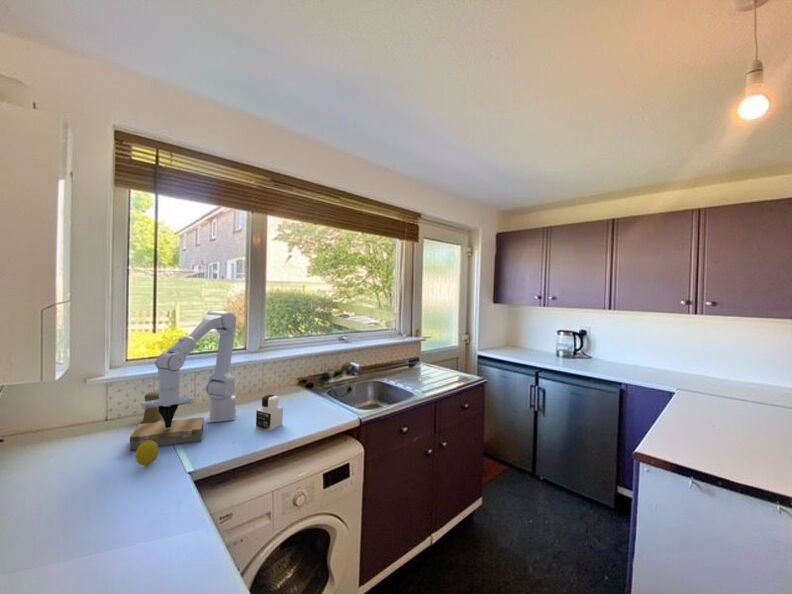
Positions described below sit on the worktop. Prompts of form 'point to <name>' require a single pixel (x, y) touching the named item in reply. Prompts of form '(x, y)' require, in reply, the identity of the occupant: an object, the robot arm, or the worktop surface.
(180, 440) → the cable duct
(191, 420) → the tan flat wooden board
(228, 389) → the robot arm
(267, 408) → the medicine bottle
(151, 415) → the cork
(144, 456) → the lemon
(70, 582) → the worktop surface
